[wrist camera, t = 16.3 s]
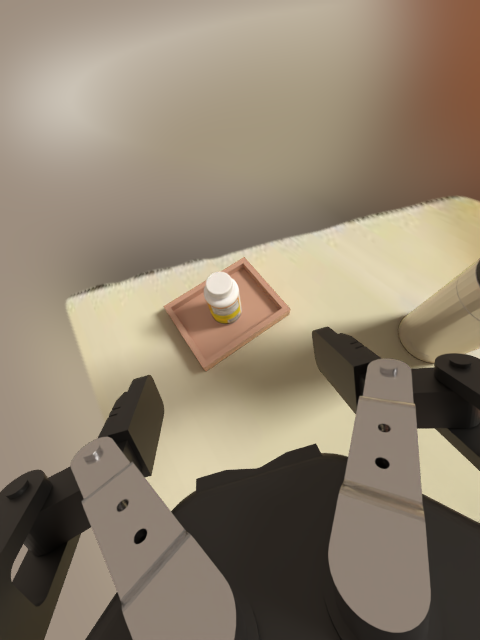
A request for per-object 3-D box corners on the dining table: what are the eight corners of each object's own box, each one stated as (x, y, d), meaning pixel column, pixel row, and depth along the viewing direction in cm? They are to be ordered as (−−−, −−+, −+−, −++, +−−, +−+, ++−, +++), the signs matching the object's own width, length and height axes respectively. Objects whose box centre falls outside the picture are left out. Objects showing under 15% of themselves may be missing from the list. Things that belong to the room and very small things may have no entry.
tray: (244, 264, 52) (244, 257, 50) (288, 314, 47) (290, 309, 45) (167, 311, 49) (163, 306, 47) (205, 371, 44) (203, 368, 41)
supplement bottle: (216, 296, 48) (206, 263, 39) (245, 301, 48) (241, 269, 38) (207, 322, 46) (195, 295, 37) (237, 329, 45) (232, 302, 36)
